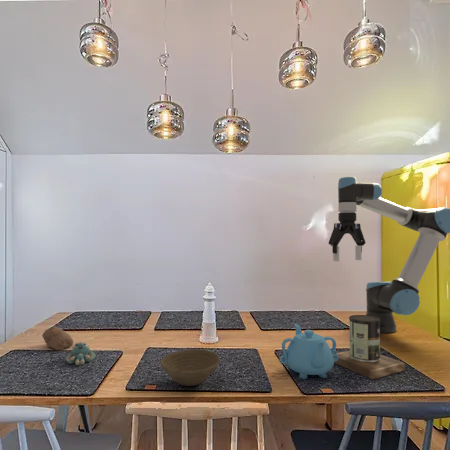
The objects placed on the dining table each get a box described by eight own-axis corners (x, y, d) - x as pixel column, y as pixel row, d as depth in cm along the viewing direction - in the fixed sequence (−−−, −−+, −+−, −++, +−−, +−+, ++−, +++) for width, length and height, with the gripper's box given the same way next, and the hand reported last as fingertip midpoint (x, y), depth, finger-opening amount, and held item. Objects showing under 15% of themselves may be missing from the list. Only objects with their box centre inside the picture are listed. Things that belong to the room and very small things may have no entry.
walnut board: (361, 354, 139) (361, 347, 139) (404, 370, 123) (404, 362, 123) (330, 361, 132) (330, 354, 132) (372, 379, 116) (372, 371, 116)
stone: (45, 350, 150) (35, 333, 145) (63, 334, 157) (54, 317, 152) (63, 360, 144) (53, 342, 139) (81, 343, 150) (72, 325, 146)
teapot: (323, 388, 109) (323, 341, 109) (270, 371, 122) (270, 329, 122) (346, 373, 121) (346, 331, 121) (295, 359, 134) (295, 321, 134)
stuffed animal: (63, 354, 123) (65, 337, 135) (63, 373, 125) (65, 355, 136) (96, 350, 127) (96, 335, 138) (96, 369, 128) (95, 352, 139)
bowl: (147, 391, 106) (148, 364, 107) (177, 369, 124) (177, 346, 124) (205, 402, 100) (205, 372, 100) (228, 377, 117) (228, 352, 117)
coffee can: (376, 353, 132) (376, 315, 133) (383, 363, 122) (382, 322, 123) (347, 351, 134) (347, 313, 135) (351, 361, 124) (351, 320, 125)
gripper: (360, 213, 168) (360, 259, 168) (320, 212, 157) (320, 261, 156) (373, 212, 162) (374, 260, 161) (332, 211, 150) (333, 262, 150)
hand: (347, 260), depth 159 cm, fingers open, 13 cm apart
